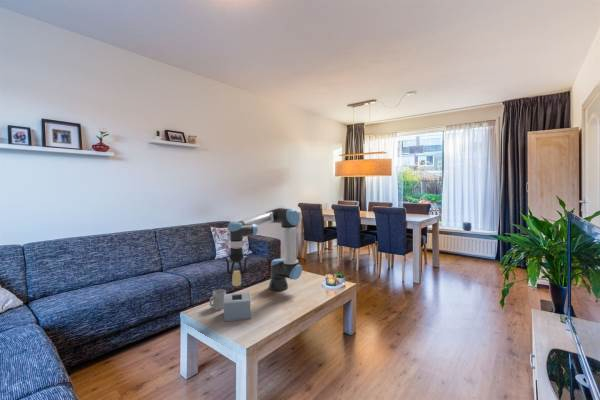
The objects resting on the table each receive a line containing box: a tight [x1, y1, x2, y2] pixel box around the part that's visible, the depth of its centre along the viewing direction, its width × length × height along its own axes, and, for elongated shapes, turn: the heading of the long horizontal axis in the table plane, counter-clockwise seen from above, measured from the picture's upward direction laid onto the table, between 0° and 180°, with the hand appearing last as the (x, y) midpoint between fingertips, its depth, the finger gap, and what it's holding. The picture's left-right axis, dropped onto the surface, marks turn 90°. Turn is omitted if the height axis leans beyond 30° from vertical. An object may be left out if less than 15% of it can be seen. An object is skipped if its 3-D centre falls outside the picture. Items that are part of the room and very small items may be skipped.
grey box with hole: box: [223, 291, 252, 322], centre depth 186 cm, size 16×13×12 cm
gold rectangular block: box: [232, 269, 241, 287], centre depth 185 cm, size 4×6×8 cm, turn 13°
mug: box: [209, 288, 227, 311], centre depth 197 cm, size 12×8×11 cm
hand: (236, 283), depth 185 cm, fingers closed on gold rectangular block, 4 cm apart
